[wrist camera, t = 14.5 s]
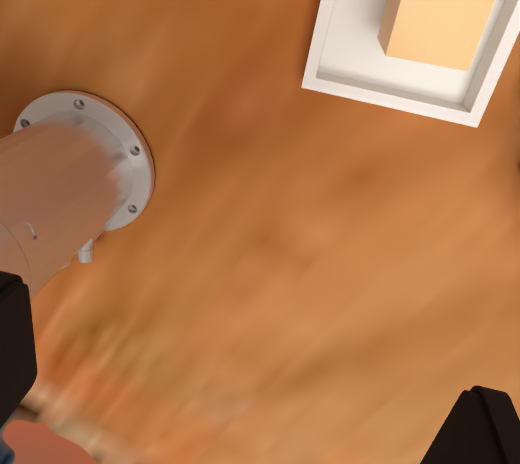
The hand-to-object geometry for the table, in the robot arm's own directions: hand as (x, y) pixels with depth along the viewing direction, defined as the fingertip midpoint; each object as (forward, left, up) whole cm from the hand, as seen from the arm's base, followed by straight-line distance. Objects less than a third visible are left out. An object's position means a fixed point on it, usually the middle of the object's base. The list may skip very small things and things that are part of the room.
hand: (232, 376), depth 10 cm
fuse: (+8, -5, -27) cm, 29 cm away
